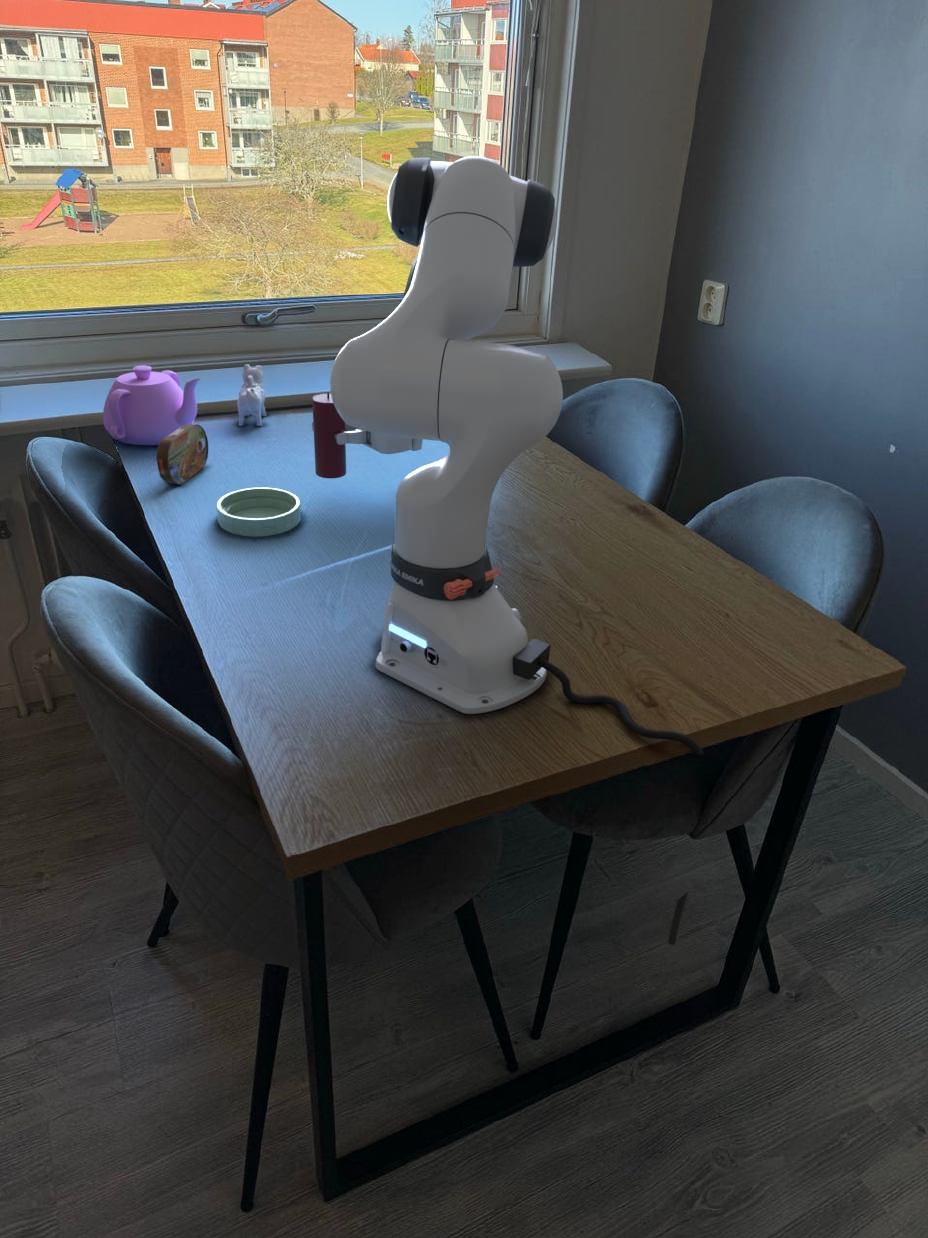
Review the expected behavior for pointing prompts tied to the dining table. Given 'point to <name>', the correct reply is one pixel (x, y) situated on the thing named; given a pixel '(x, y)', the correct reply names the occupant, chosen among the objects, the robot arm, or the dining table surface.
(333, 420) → the candle
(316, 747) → the dining table surface
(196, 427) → the tin
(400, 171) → the robot arm
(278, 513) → the bowl
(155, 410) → the teapot
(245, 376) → the dog figurine
